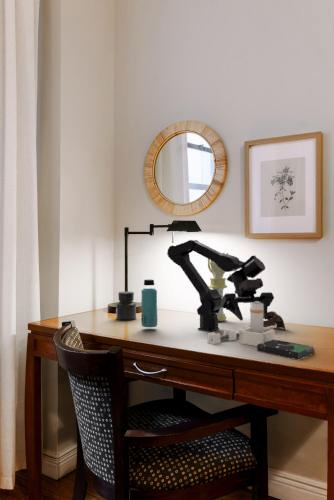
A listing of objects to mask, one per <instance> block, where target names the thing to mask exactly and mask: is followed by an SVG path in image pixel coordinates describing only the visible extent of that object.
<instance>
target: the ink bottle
mask: <svg viewBox="0 0 334 500" xmlns="http://www.w3.org/2000/svg"><path fill="white" fill-rule="evenodd" d="M134 294H135V293H134V292H133V291H119V292H118V295H117V296H118V302H117V303H116V305H115V307H116V309H115V317H116V320H118V321H119V320H120V321H131V320H136V318H137V305H136V303H135V302H134V299H135V297H134V296H135V295H134Z"/></svg>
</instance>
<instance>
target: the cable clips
mask: <svg viewBox="0 0 334 500" xmlns="http://www.w3.org/2000/svg"><path fill="white" fill-rule="evenodd" d="M249 327H250V326H242V330H243V329H246V328H249ZM236 333H237V330H235V329H234V330H232V329H231V328H228V329H224V330H223V336H225V335H229V338H228V339H226V340H225V341H235V340H237V337H236ZM220 336H221V333H216V332H214V331H211V332H209V333H207V344H211V345H217V344H218V345H219V344H221V341H220ZM212 338H213V341H212Z"/></svg>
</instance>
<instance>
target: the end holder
mask: <svg viewBox="0 0 334 500" xmlns="http://www.w3.org/2000/svg"><path fill="white" fill-rule="evenodd" d="M248 327H249V328H246V329H243V328H242V329H241V330H239V331H238V333H239V337H238V338H239V339H238V340H239V342H238V343H239V344H242V345H250V346H255V347H257V345H258V344H261V343H262V344H264V343H265V342H267V341H271V340H275V329H269V330H267V331H263V333H256V332H250V326H248Z"/></svg>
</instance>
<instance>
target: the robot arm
mask: <svg viewBox="0 0 334 500" xmlns="http://www.w3.org/2000/svg"><path fill="white" fill-rule="evenodd" d="M193 252H195V253H197V254H198V255H201V256H202V257H203V258H205V259H207V260H208V259H210V261H211V260H212V261H213V262H215V263H216V265H217V266H218V267H219V268H221V269H222V270H223V271H225V273H229V272H230V273H229V275H228V277H227V278H226V280H227V281H228V282H230V283H232V284H233V286H234V289H235V290H234V292H231V293H223V299H222V298H221V297H222V296H221V295H220V294H219V292H218V291H217V289H212V288H210V287H209V285H208V284H207V283H206V281H205V280H204V278H203V277H202V275H201V274H200V272H199V271H198V270H197V269H196V267H195V266H194V264H193V263H192V262H191V259H190V254H191V253H193ZM223 253H224V252H223ZM223 253H222V252H220V251H218V250H216V249H214V248H212V247H210V246H208V245H207V244H204V243H203V242H201V241H199V240H198V239H189V240H187V241H185V242H182V243H180V244H179V243H178V244H177V245H176V244H175V245H173V244H172V245H170V246H169V247H168V248H167V253H166V255H167V257H168V258H169V259H170V260H171V261H172V263H174V264H176V265H177V266H179V268H180V269H181V270H182V271H183V273H184V274H185V276H186V277H187V278H188V280H189V282H190V283H191V285H192V286H193V287H194V289H195V291H196V292H197V293H198V295H199V302H200V304H201V305H199V307H198V308H197V309H196V312H197V314H198V316H199V327H198V328H197V330H200V331H206V332H214V331H216V330H219V329H220V327H219V321H218V318H217V314H216V313H219V310H220V309H221V307H222V308H223V309H225V310H226V311H229V312H231V313H232V314H233V315H234V316H235V317H237V319H238V320H240V321H243V319H244V318H243V314H242V312H241V309H240V306H239V304H240V303H243V304H248V303H249V304H251V303H255V301H259V303H263V309H264V312H263V317H264V319H263V320H264V321H267V312H268V307H270V306H271V304H272V303H273V300H274V299H275V296H274V294H273V293H272V292H266V291H265V292H261V293H260V295H259V296H255V295H256V294H257V290H259V289H262V287H264V282H263V280H262V278H256V279H254V278H255V277H257V276H258V275H260V274H261V273H262V272H263V271H265V270H266V266H265V264H264V262H263V261H261V260H260V259H259V258H258V257H257V256H256V255H251V256H250V257H249V258H248V259H247V260H246V261H242V260H240V258H239V257H237V256H235V255H232V254H229V253H228V254H227V253H224V254H223ZM231 272H232V273H231ZM250 278H251V279H250Z"/></svg>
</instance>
